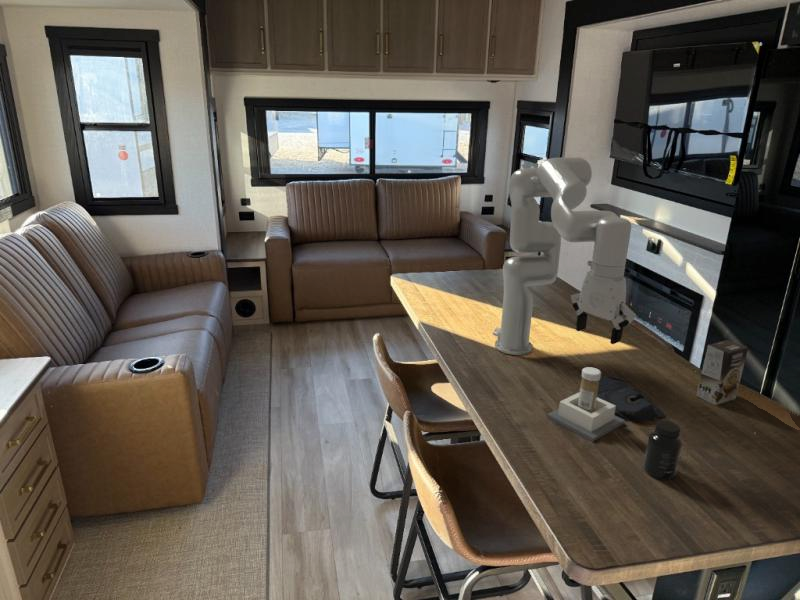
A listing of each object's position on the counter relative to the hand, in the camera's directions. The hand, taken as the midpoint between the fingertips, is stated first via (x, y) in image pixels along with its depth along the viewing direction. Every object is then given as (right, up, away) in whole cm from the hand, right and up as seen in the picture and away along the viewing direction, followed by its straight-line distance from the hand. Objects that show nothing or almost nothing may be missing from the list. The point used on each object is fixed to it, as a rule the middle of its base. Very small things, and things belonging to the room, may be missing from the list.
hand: (597, 335), depth 141 cm
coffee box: (+41, -19, +21) cm, 50 cm away
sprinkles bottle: (-1, -22, +8) cm, 23 cm away
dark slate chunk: (+13, -20, +19) cm, 30 cm away
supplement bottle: (+10, -30, -12) cm, 34 cm away
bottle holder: (0, -23, +8) cm, 24 cm away
